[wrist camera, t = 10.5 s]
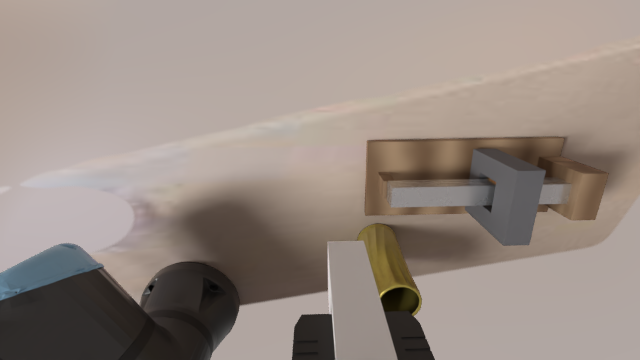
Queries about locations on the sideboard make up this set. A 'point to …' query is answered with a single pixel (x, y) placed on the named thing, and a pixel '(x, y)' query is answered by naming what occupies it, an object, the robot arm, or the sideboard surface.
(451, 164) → the wooden stand
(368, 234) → the vase
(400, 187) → the light grey bar
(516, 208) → the collar
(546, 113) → the sideboard surface
